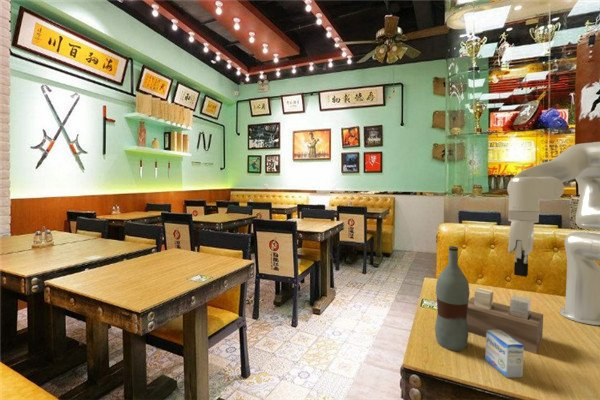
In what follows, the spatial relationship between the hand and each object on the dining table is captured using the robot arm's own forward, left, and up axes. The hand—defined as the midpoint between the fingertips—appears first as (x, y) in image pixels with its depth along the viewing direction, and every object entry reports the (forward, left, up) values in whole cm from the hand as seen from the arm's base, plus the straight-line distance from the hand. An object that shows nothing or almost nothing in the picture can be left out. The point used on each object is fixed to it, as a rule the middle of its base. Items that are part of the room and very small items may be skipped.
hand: (520, 275), depth 91 cm
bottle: (+18, -14, -21) cm, 31 cm away
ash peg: (0, -10, -16) cm, 19 cm away
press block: (0, -5, -21) cm, 21 cm away
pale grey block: (0, 0, -16) cm, 16 cm away
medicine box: (+21, 0, -21) cm, 29 cm away
